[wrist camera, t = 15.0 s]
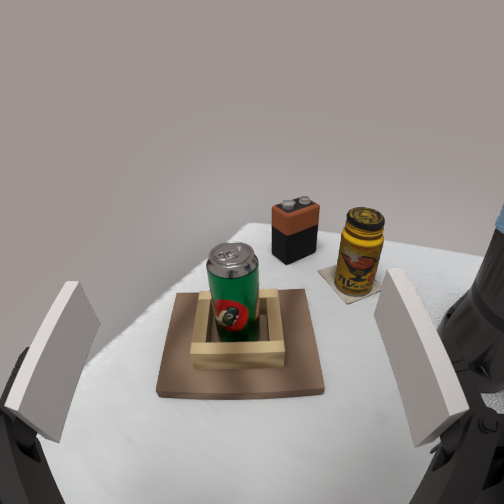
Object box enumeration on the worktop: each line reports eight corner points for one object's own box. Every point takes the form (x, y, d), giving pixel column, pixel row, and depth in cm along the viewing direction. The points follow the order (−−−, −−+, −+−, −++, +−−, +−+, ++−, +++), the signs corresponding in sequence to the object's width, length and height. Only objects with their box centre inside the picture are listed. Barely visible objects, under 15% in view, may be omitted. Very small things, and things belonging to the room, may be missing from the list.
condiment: (347, 305, 41) (362, 232, 35) (317, 271, 48) (324, 202, 41) (384, 289, 44) (402, 221, 37) (353, 260, 50) (364, 195, 43)
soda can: (267, 343, 35) (267, 260, 28) (227, 357, 33) (214, 275, 26) (249, 315, 39) (245, 234, 32) (212, 328, 37) (198, 247, 30)
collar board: (303, 296, 43) (306, 272, 41) (322, 394, 30) (329, 372, 28) (178, 300, 43) (172, 276, 41) (159, 397, 30) (147, 376, 28)
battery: (270, 253, 52) (270, 200, 47) (300, 241, 55) (303, 190, 50) (286, 266, 49) (288, 210, 44) (316, 252, 52) (321, 199, 47)
